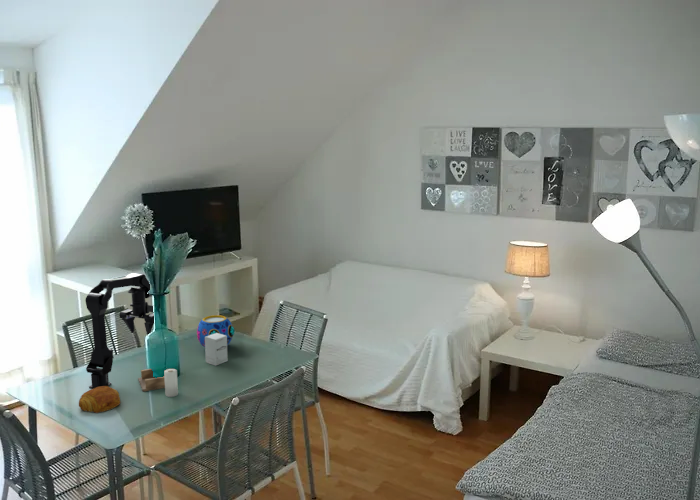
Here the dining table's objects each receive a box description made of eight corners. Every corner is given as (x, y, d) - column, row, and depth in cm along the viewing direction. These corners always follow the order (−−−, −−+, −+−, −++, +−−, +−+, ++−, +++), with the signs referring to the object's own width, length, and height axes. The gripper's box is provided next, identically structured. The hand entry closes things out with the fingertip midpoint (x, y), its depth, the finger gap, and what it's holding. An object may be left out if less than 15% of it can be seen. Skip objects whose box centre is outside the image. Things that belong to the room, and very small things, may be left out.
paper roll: (173, 397, 255) (172, 374, 253) (162, 395, 257) (161, 372, 255) (180, 392, 260) (179, 369, 258) (170, 391, 261) (168, 367, 259)
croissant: (75, 410, 248) (70, 392, 246) (113, 394, 258) (109, 376, 256) (90, 422, 238) (85, 403, 236) (129, 404, 248) (125, 386, 246)
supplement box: (216, 366, 288) (214, 339, 285) (205, 362, 292) (204, 336, 290) (228, 361, 293) (227, 335, 291) (217, 357, 298) (216, 332, 295)
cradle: (142, 391, 260) (142, 381, 260) (138, 380, 272) (137, 370, 271) (172, 386, 266) (172, 376, 265) (166, 375, 277) (166, 365, 276)
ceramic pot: (209, 357, 299) (208, 326, 296) (190, 347, 311) (189, 318, 308) (241, 348, 310) (240, 319, 307) (221, 339, 323) (220, 310, 320)
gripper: (167, 298, 288) (168, 331, 291) (135, 294, 295) (136, 326, 298) (150, 305, 278) (152, 339, 281) (117, 300, 285) (119, 333, 288)
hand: (140, 334), depth 287 cm, fingers open, 9 cm apart
